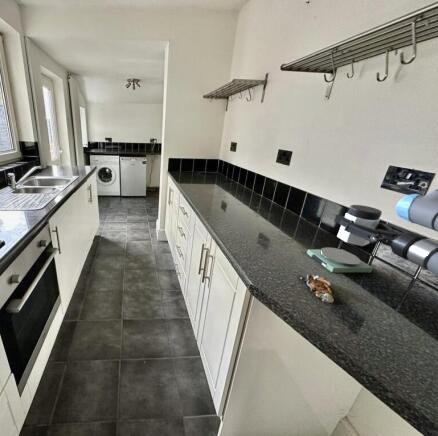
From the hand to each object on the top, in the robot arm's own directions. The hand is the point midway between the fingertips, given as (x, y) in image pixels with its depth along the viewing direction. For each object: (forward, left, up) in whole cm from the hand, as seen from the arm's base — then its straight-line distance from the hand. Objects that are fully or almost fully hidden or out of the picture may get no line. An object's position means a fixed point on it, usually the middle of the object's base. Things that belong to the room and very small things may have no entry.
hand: (347, 218), depth 84 cm
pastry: (+19, +18, -18) cm, 31 cm away
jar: (0, +5, -7) cm, 8 cm away
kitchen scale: (0, +2, -18) cm, 18 cm away
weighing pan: (0, +2, -15) cm, 16 cm away
